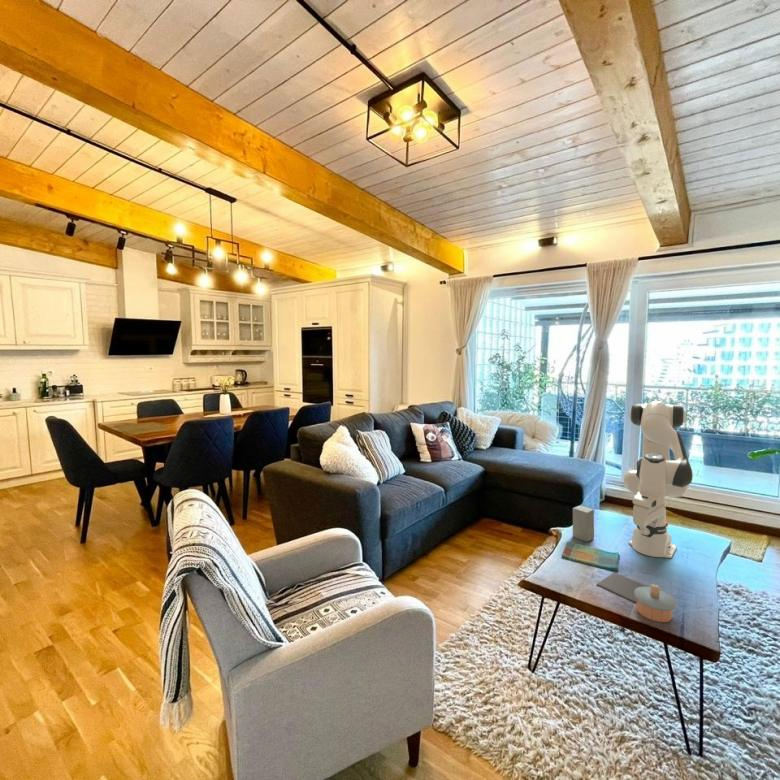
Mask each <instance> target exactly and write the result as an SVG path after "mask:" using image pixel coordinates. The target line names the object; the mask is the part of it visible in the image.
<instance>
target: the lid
mask: <svg viewBox="0 0 780 780" xmlns="http://www.w3.org/2000/svg"><path fill="white" fill-rule="evenodd" d="M634 596H635V598H636V599H637V600H638V601H640V602H641V603H643V604H644V605H646V606H649V607H651V608H654V609H658V610H672V609H673V610H674V609H676V606H677V602H676V599H675V598H674V597H673V596H672V595H670V594H669V593H667V592H665V591H663V590H661V587H660V586H659V585H658V584H653V583H651V584H650V586H648V587H638V588H636V589H635V590H634Z"/></svg>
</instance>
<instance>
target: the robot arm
mask: <svg viewBox="0 0 780 780" xmlns="http://www.w3.org/2000/svg"><path fill="white" fill-rule="evenodd" d="M629 409H630V410H629V413H628V414H629V415H628V416H629V419H630V422H631V423H632V424H633V425H635V426H638V427H640V429H641V430H640V431H641V434H642V445H641V446H642V449H641V455H642V456H641V457H642V458H641V457H640V459H639V460H637V461H636V469H629V470H627V471H626V472H625V473H624V475H623V478H622V479H623V480H622V481H623V485H624V486H625V488H626V489H627V490H628V491H629V492H630V493H632V495H633V499H632V504H633V509H632V521H633V524H634V525H635V526H636V527H635V528H633V529H632V530H633V531H632V535H631V536H632V537H631V540H629V541H628V544H629V545H630V546H631V547H632V549H633V550H635V551H636V552H637V553H640V554H642V555H645V556H649V557H653V558H654V557H655V558H666V559H672V558H673V557H674V555H675V552H676V550H677V548H678V547H677V545H675V544H674V543H672V535H671V534H670V533H669V532H667V527H668V526H669V522H667V521H666V518H667V516H666V515H667V509H666V497H669V498H673V497H674V498H675V497H676V498H677V497H678V498H679V497H683V496H684V495H685V494H686V493H687V490H688V486H689V485H691V483H692V481H693V478H694V473H693V470H692V469H693V468H692V466H691V464H690V461H689V459H688V455H687V451H686V446H685V443H684V441H683V440H684V439H683V438H682V435H681V433H680V432H678V430H676V429H678V428H680V427H681V426H683V425H684V423H685V421H686V417H687V416H686V412H685V410H684V408H683V406H682V405H677V404H669V403H664V402H663V401H658V400H653V401H649V402H648V403H635V404H632V406H631V408H629ZM670 450H671V451H672V453H673V459H674V460H673V459H671V455H670V452H671V451H670Z"/></svg>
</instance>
